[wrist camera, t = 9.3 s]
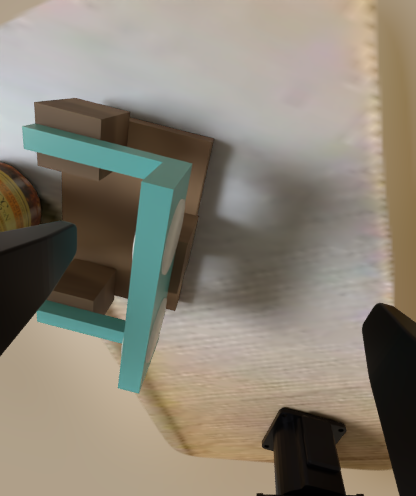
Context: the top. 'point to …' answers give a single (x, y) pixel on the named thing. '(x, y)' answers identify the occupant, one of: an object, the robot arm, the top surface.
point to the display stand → (115, 200)
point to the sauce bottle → (17, 200)
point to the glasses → (144, 247)
